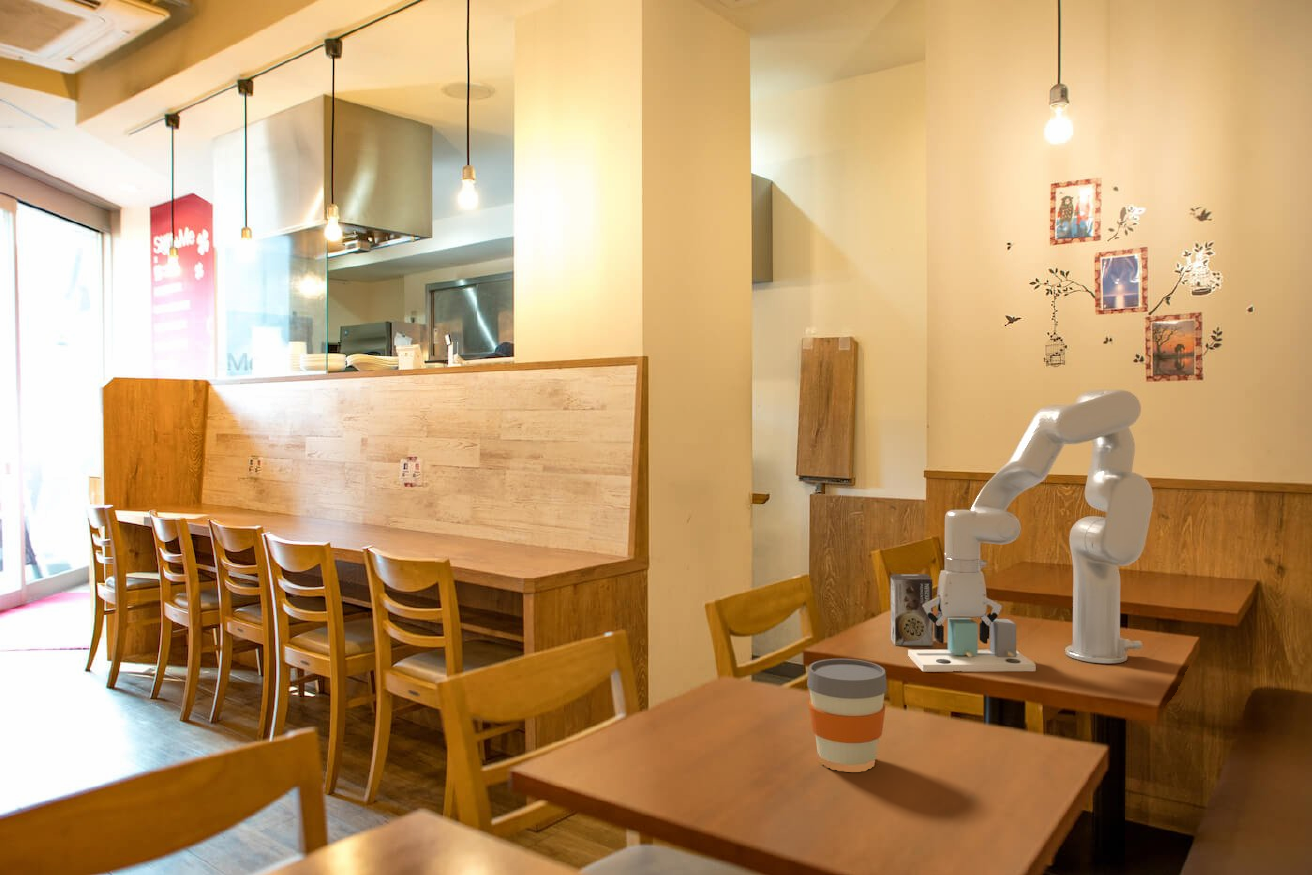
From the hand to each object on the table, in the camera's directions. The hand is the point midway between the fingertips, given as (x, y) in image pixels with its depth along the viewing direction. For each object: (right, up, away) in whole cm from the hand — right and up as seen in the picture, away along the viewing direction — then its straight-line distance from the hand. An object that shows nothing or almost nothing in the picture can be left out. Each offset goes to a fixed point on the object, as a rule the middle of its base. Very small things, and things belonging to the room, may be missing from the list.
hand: (961, 642), depth 201 cm
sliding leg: (0, -2, -1) cm, 3 cm away
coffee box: (-7, -4, +16) cm, 18 cm away
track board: (+1, -4, -2) cm, 5 cm away
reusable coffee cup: (-38, -7, -56) cm, 68 cm away
